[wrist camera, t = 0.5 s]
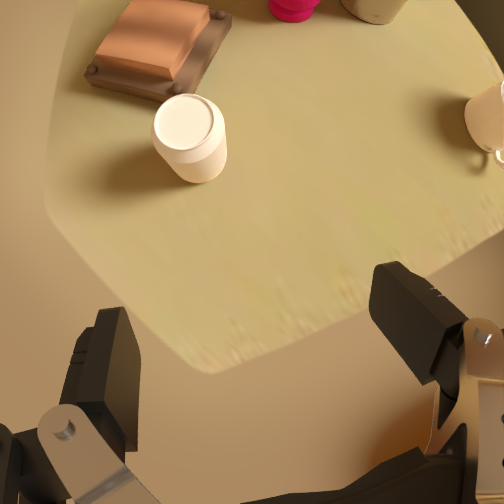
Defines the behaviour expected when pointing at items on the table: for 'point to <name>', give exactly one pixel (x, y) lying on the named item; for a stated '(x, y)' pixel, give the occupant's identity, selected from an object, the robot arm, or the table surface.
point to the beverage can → (191, 137)
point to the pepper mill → (292, 9)
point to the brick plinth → (163, 85)
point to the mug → (487, 120)
